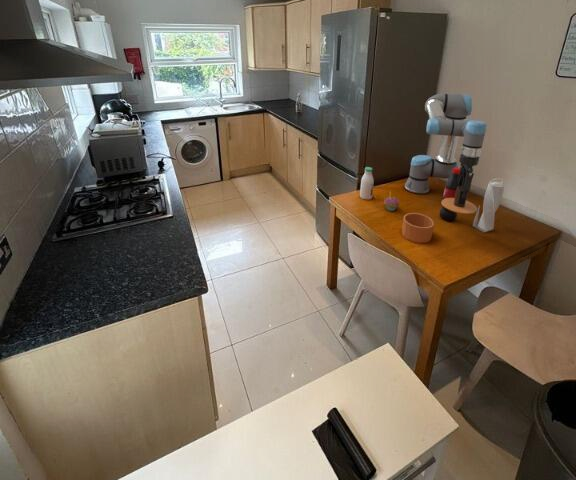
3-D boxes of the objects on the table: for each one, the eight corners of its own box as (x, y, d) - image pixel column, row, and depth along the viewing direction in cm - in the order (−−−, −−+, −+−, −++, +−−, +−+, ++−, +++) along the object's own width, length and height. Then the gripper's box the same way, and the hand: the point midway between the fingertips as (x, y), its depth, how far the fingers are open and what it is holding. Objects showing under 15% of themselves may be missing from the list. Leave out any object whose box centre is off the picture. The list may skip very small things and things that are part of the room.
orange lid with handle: (439, 198, 154) (442, 179, 151) (471, 202, 150) (476, 183, 146) (444, 212, 141) (448, 192, 137) (480, 217, 137) (485, 197, 133)
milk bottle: (367, 201, 187) (370, 171, 180) (357, 196, 193) (359, 167, 186) (374, 197, 192) (377, 168, 185) (364, 193, 197) (367, 164, 190)
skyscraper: (482, 222, 164) (495, 175, 154) (497, 230, 157) (511, 181, 147) (471, 225, 161) (483, 177, 151) (485, 233, 154) (499, 184, 144)
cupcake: (388, 213, 173) (391, 194, 169) (380, 206, 181) (382, 188, 177) (401, 211, 175) (404, 192, 171) (392, 204, 183) (395, 186, 179)
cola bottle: (451, 214, 172) (462, 165, 161) (458, 222, 164) (469, 171, 153) (436, 214, 172) (445, 165, 162) (442, 222, 165) (452, 171, 154)
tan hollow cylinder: (400, 225, 162) (403, 211, 159) (429, 229, 158) (431, 215, 155) (402, 240, 149) (404, 225, 146) (432, 245, 145) (436, 230, 142)
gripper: (456, 148, 145) (447, 192, 153) (465, 160, 129) (454, 208, 137) (474, 150, 143) (464, 194, 151) (485, 162, 127) (473, 211, 135)
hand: (459, 200), depth 144 cm, fingers closed on orange lid with handle, 5 cm apart
